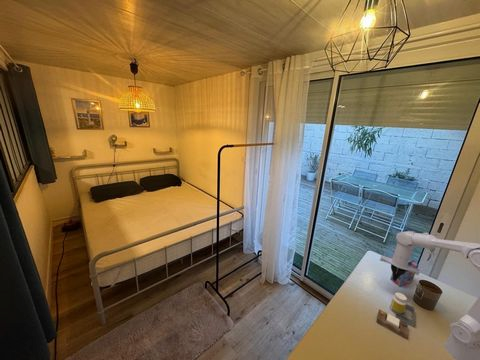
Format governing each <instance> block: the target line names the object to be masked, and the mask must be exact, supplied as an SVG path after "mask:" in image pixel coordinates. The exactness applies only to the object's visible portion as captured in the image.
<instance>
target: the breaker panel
mask: <svg viewBox="0 0 480 360" xmlns="http://www.w3.org/2000/svg"><path fill="white" fill-rule="evenodd" d="M387 314H388V313H387V312H386V311H383V310H381V309H380V308H379V309H378V311H377V316H376V323H377V324H378V325H380V326H383V327H384V328H385V329H388V330H390V331H391V332H393V333H395V334H396V335H399V336H400V337H402V338H404V339H405V340H407V339H408V336H409V325H408V324H407V323H405V322H403V321H401V320H399V328H397V327H395V326H393V325H391V324H390V323H388V322H386V317H387Z"/></svg>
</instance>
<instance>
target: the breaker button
mask: <svg viewBox="0 0 480 360" xmlns="http://www.w3.org/2000/svg"><path fill="white" fill-rule="evenodd" d="M385 321H386V322H388V323H390V324H391V325H393V326H395V327H397V328H399V319H398V318H396V317H395V315H392V314H389V313H387V317H386V318H385Z"/></svg>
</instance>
